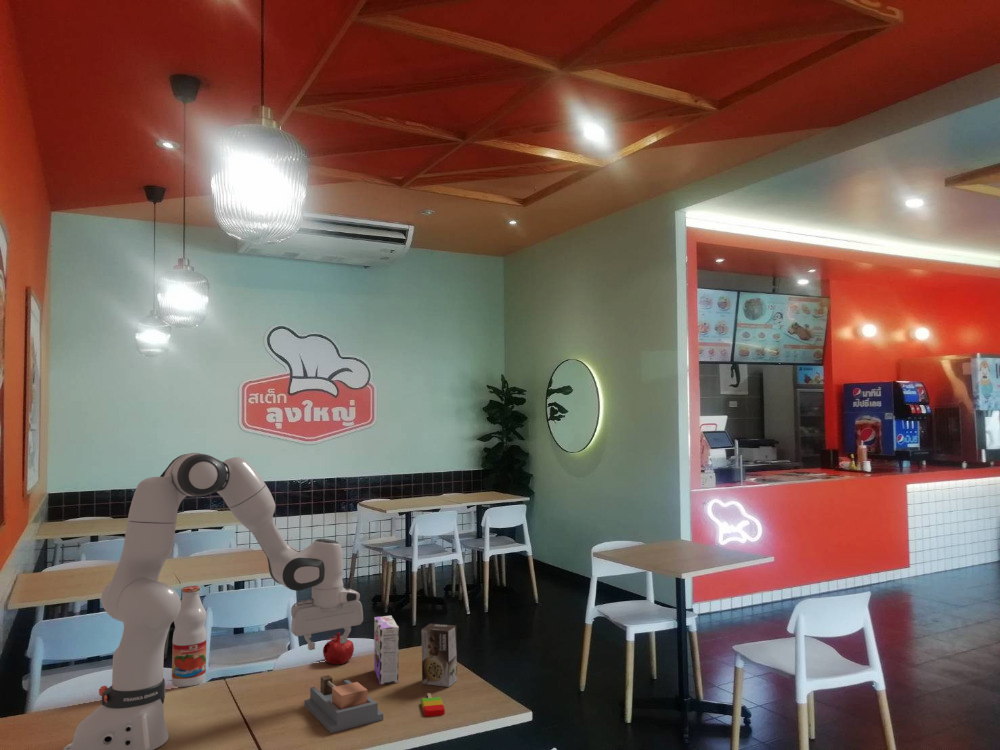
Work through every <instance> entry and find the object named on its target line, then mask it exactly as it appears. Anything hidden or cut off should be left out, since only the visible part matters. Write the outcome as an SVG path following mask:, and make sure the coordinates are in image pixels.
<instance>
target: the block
mask: <svg viewBox="0 0 1000 750" xmlns="http://www.w3.org/2000/svg"><path fill="white" fill-rule="evenodd" d="M333 681H334V680H333V677H332V676H331V675H329V674H327V675H323V676H322V675H321V676H320V690H319V691H320V692H321V693H322V694H323V695H324V696H325V695H330V694H332V703H333V704H334V705H335V706H336V707H337V708H338V709H340V710H341V709H345V708H349V707H353V706H357V705H362V704H366V703H367V695H368V689H367V688H366V687H364V685H362V684H360V683H359V682H358V681H355V682H352V683H350V684H345V685H344V684H341V685H335V684H334V683H333Z"/></svg>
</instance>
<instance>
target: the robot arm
mask: <svg viewBox="0 0 1000 750" xmlns="http://www.w3.org/2000/svg"><path fill="white" fill-rule="evenodd" d="M161 473H162V474H160V476H152V477H148V478H145V479H143V480H141V481H139V483H138V484H137V486H136V488H135V492H134V494H133V497H132V499H131V504H130V507H129V511H128V516H127V523H126V529H125V534H124V541H123V548H122V552H121V555H120V557H119V561H118V565H117V566H116V569H115V571H114V574H113V576H112V579H111V581H110V582H108V584H106V586H105V587H104V588H103V591H102V593H101V597H100V601H101V602H100V603H101V606H102V608H103V609H104V611H105V612H106V613H107V614H108V616H110V617H111V618H112V619H114V620H116V621H119V622H121V623H123V630H122V631H123V632H122V635H121V639H120V642H119V645H118V646H117V648H116V649H115V651H113V655H112V673H111V674H112V676H111V677H112V678H111V680H112V681H111V686H107V685H102V686H100V688H99V689H98V694H99V696H100V697H101V705H99V706H98V707H97V708H96V709H95V710H93V711H92V712H91V713H90V714H88V716H86V717H85V718H83V719H82V720H81V721H80V722H79V724H78V725H77V727H76V729H75V732H74V734H73V739H72V742H70V743H69V744H67V745H66V746H65V747H64V748H63V749H62V750H156V749H157V748H160V747H161V746H163V745H164V744H166V742H167V741H169V738H170V737H169V731H168V729H167V725H166V718H165V710H164V703H165V699H166V680H165V678H164V661H165V660H164V659H165V658H164V656H165V645H166V641H167V637H168V634H169V631H170V628H171V625H172V624H173V623H174V620H175V619H176V618H177V616H178V614H179V612H180V608H181V600H182V599H181V597H180V595H179V594H178V592H177V591H176V590H175V589H174V588H172V587H171V586H170V585H169V584H167V583H164V582H161V581H159V577H160V574H161V572H162V569H163V566H164V565H165V563H166V561H167V560H168V559H169V558H170V557H171V556H172V553H173V547H174V542H175V533H176V526H177V518H178V510H179V507H180V505H181V503H182V501H183V500H184V499H185V498H186V497H204V496H208V495H211V494H214V493H217V494H218V495H219V496H220V497H221V498H222V499H223V500H224V502H225V504H226V506H227V507H228V509H229V510H230V512H231V513H232V515H234V517H235V518H236V519H237V521H239V523H240V524H242V525H243V526H244V527H245V528H246V529H247V530H248V531H249V532H250V533H252V535H253V537H254V538H255V539H256V541H257V543H258V544H259V547H260V548H261V549H262V551H263V552H264V554H265V556H266V559H267V564H268V571H269V572H268V573H269V574H270V577H271V578H272V580H273V581H275V583H278V584H280V585H282V586H283V587H285V588H287V589H289V590H291V591H294V592H295V591H298V592H299V591H303V590H307V589H309V588H311V598H308V599H305V600H298V601H296V602H295V603H293V605H292V606H291V610H290V613H291V614H290V615H291V624H290V625H291V627H290V631H291V633H292V634H293V636H295V637H302V636H303V637H304V640H305V641H306V643H307V649H308V650H309V651H312V650H316V642H314V641H311V639H312V635H313V634H317V633H323V632H328V631H333V630H334V631H335V630H340V629H343V630H344V632H343V633H342V635H343V636H341V635H340V639H341V640H340V642H341V643H342V644H343V643H347V640H348V638H349V634H350V633H351V631H352V627H355V626H360V625H362V623H363V622H364V611H363V604H362V602H361V599H360V598H361V595H360V593H359V592H358V591H356V590H354V589H351V588H347V587H346V588H345V587H344V581H343V572H344V556H343V548H342V545H341V543H339V542H338V541H336V540H333V539H328V538H327V539H326V538H318V539H314V541H313V542H312V543H311V544H310V545H308V546H307V547H306V548H303V549H302V550H300V551H298V550H296V549H294V548H292V547H290V545H288V544H287V542H286V540H285V539H284V537H283V536H282V534H281V532H280V531H279V528H278V527H277V525H276V523H275V520H274V514H275V511H276V503H275V502H276V501H275V500H274V497H273V495H272V493H271V490H270V488H268V486H267V484H266V482H265V480H264V479H263V478H262V477H261V475H260V474H259V473H258V472H257V470H256V469H255V467H253V466H252V465H251V464H250V463H249V462H248V461H247V460H246V458H244V457H240V456H239V457H238V456H236V457H231V458H230V457H229V458H227V459H225V460H224V461H222V460H219V459H218V458H215V457H214V456H212V455H209V454H205V453H200V452H190V453H186V454H182V455H179V456H177V457H176V458H174V459H173V460H171V462H170V463H169V465H168V466H167V467H166V469H165V470H164V471H163V472H161Z"/></svg>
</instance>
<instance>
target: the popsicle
mask: <svg viewBox="0 0 1000 750" xmlns="http://www.w3.org/2000/svg"><path fill="white" fill-rule="evenodd" d="M426 695H427V697H426V698H421V700H420V705H421V708H422V712H423V716H424V717H428V718H429V717H437V716H439V717H440V716H444V715H445V714H446V709H445V706H444V703H443V700H442V697H440V696H438V697H437V696H436V697H432V693H431V692H427V693H426Z"/></svg>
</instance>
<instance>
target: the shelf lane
mask: <svg viewBox="0 0 1000 750" xmlns="http://www.w3.org/2000/svg"><path fill="white" fill-rule="evenodd" d="M350 683H353V682H352V681H351V680H349V679H344V680H343V685H345V684H350ZM309 689H310V690H309V691H310V696H309V698H308V699H307V698H306V699H304V704H303V706H304V708H306V709H307V710H308V711H309V712H310V713H311V714H312V715H313V716H314V718H315V719H317V720H318V721H319V723H321V724H322V726H324V728H325V729H326V730H327V731H328V732H330V734H333V733H337V732H342V731H346V730H349V729H352V728H358V727H360V726H364V725H368V724H371V723H376V722H380V721H383V720H384V713H383V712H382V711H381V710H380V709H378V708H379V707H378V706H379V705H378V702H377V701H375V700H374V699H373V698H372V697H370V696H369V694H367V703H366V704H362V705H357V706H353V707H349V708H345V709H341V710H340V709H338V708H337V707H336V706H335V705H334V704H333V703H332V694H330V695H325V696H324V695H323V694H322V693H321V692H320V691H321V690H319V689H318V688H316V687H315V686H313V687H310V688H309Z"/></svg>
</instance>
